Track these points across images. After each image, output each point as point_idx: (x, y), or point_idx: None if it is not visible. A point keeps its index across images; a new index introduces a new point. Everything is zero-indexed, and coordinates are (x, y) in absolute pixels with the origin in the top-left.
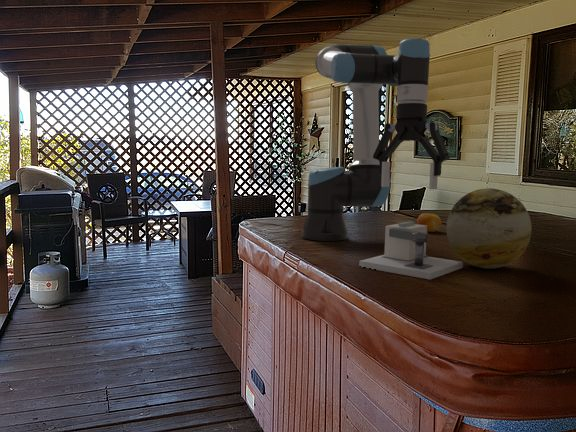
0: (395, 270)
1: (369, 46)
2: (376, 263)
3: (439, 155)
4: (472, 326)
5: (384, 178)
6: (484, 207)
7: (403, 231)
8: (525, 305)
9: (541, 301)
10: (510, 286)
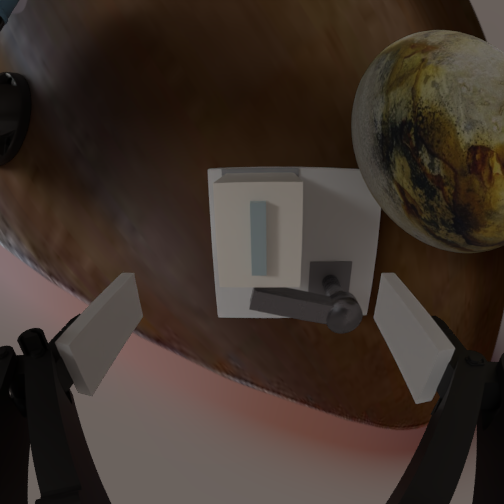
0: None
1: None
2: (255, 315)
3: (482, 386)
4: (428, 409)
5: (127, 334)
6: (501, 245)
7: (298, 318)
8: (473, 331)
9: (487, 303)
10: (463, 259)
